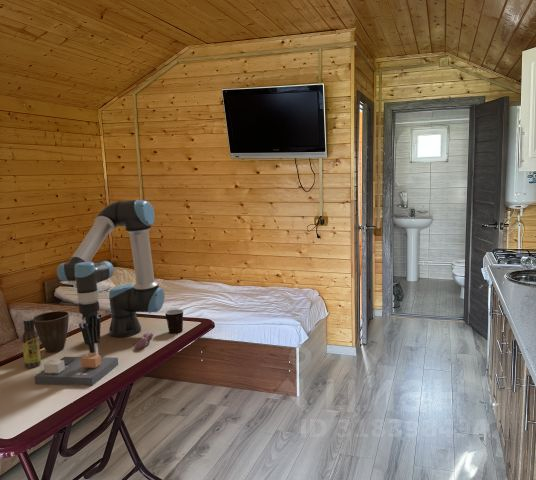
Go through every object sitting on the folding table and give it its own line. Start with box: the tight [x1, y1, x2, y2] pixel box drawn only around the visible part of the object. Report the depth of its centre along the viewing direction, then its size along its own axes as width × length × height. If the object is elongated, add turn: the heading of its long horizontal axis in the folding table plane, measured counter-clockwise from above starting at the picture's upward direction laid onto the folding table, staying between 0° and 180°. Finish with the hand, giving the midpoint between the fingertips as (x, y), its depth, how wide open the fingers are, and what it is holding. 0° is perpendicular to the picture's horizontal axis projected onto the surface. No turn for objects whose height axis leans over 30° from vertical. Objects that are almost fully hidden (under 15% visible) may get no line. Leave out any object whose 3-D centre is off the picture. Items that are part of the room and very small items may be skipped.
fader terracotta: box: [81, 354, 102, 368], centre depth 199 cm, size 4×6×4 cm, turn 79°
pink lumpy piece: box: [134, 332, 154, 350], centre depth 228 cm, size 10×5×7 cm, turn 169°
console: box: [34, 356, 119, 386], centre depth 200 cm, size 20×24×3 cm
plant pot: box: [33, 310, 70, 354], centre depth 229 cm, size 15×15×16 cm
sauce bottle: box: [21, 317, 42, 369], centre depth 211 cm, size 6×6×20 cm
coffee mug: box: [164, 308, 184, 335], centre depth 244 cm, size 12×9×10 cm
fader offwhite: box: [43, 359, 65, 373], centre depth 196 cm, size 4×6×4 cm, turn 79°
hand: (94, 359), depth 202 cm, fingers closed
